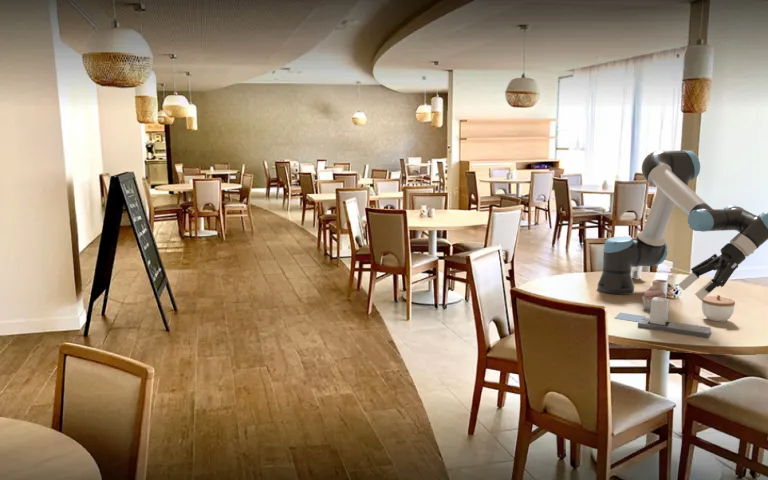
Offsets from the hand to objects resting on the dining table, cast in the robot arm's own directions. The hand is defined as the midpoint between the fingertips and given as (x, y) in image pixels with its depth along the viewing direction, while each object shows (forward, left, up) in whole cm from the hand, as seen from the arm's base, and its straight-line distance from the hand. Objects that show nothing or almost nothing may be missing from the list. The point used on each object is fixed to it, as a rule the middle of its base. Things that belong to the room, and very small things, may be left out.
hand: (689, 292), depth 215 cm
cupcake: (-14, +21, -14) cm, 29 cm away
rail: (-3, -4, -13) cm, 14 cm away
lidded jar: (+8, +19, -14) cm, 24 cm away
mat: (-19, +3, -13) cm, 24 cm away
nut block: (-8, -4, -13) cm, 16 cm away
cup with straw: (-32, +76, -14) cm, 84 cm away
